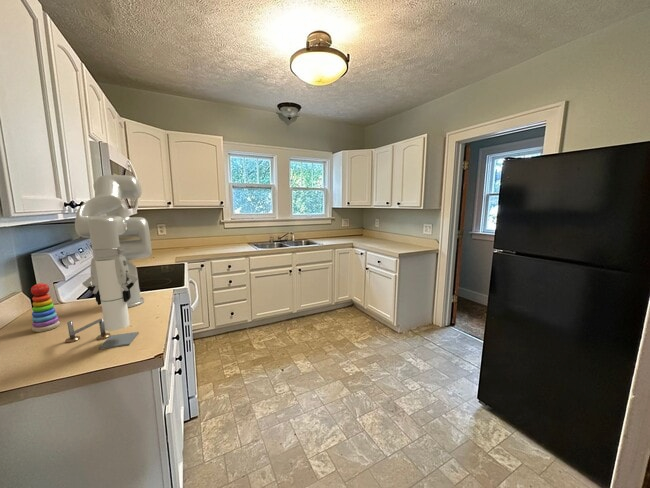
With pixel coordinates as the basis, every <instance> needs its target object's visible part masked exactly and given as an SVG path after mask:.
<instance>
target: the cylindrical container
mask: <svg viewBox="0 0 650 488" xmlns="http://www.w3.org/2000/svg"><path fill="white" fill-rule="evenodd" d="M95 263H96V270H97V277H98V285H99V293H100V299H101V304H100V306H101V311H102V319H104V326H105V332H106V331H107V332H112V331H113V332H114V331H119V330H122V329H125V328H126V327H128V326H130V324H131V321H130V315H129V307H127V302H124V298H123V291H124V289H123V288H122V287H121V285H120V284H119V282H118V279H117V274H116V268H115V259H112V260H96V261H95Z"/></svg>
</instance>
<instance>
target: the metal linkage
mask: <svg viewBox="0 0 650 488" xmlns="http://www.w3.org/2000/svg"><path fill="white" fill-rule="evenodd" d="M97 324H98V325H99V330H100V334H99V335H97V336H96V340H97V341H103V340H105V339H106V340H107V339H108V338H109V337H110V336H111V335H112V334H111V333H110V332H106V330H105V326H104V319H103V318H99V319H96V320H95V321H93V322H89V323H88V324H86V325H84V326H82V327H79V328H77V329H76V330H75V328H74V323H73V321H72V320H68V321H67V330H68V336H69V337H67V338H66V339H65V343H66V344H70V343H75V342H77V341H79V340H80V339H81V336H80V335H77V334H78V333H80V332H83V331H85V330H86V329H88V328H91V327H92V326H94V325H97Z"/></svg>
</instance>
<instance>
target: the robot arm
mask: <svg viewBox="0 0 650 488" xmlns="http://www.w3.org/2000/svg"><path fill="white" fill-rule="evenodd" d="M93 190H94V192H95V193H94V197H92V198H90V199H89V200H87V201H85V202H84V203H82V204H81V205H80V206H79V207H78V209H77V211H76V214H75V219H74V230H75V232H76V234H77V235H78V236H79V237H81V238H90V244H91V251H92V256H93V257H92V258H91V260H90V276H89V277H88V278H87V279H85V281H83V282H82V286H84V287H85V288H87V289H88V290H89V291H90V292H92V294H94V295H95V296H94V297H95V301H96V303H97V305H98V306H101V299H100V293H99V285H98V277H97V270H96V263H95V261H96V260H112V259H115V268H116V274H117V279H118V282H119V284H120V285H121V287H122V288H123V289H124V291H123V298H124V302H127V307H128V308H133V307H135V306H139V305H141V304H143V303H144V302H145V298H144V297H142V296H141V290H140V284H139V283H140V282H139V277H138V276H139V275H138V268H137V266H136V265H135V264H134V263H133V262H131V260H139V259H147V258H150V257H151V256H152V252H153V249H152V241H151V240H152V239H151V234H150V233H151V232H150V227H149V226H150V225H149V221H148V220H147V219H146V218H145V217H141V216H139V217H138V216H135V217H131V216H130V213H129V207H128V206H127V205H126V203H125V202H124V201H122V199H123V200H125V199H126V200H127V199H128V200H129V199H135V200H136V199H139V198H140V197H141V196H142V193H143V192H142V186H141V184H140V182H139V179H137V178H136V177H135V176H132V175H125V174H122V175H121V174H120V175H119V174H105V175H101V176H99V177H98V178H97V179H96V181H94V182H93ZM105 214H106V215H105ZM123 238H124V240H120V239H123ZM125 238H138V239H125Z"/></svg>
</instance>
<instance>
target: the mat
mask: <svg viewBox="0 0 650 488" xmlns="http://www.w3.org/2000/svg"><path fill="white" fill-rule="evenodd" d="M139 333H140V332H139V331H135V332H127V333H119V334H110V335H111V336H110V337H109V338H106V340H104V342H103V343H102V344H101V345H100V346H99V347H98V350H104V349H109V348H110V349H111V348H117V347H126V346H130V345H131V344H132V342H133V341H134V340H135V339H136V338H137V336H138V335H139Z"/></svg>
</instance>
